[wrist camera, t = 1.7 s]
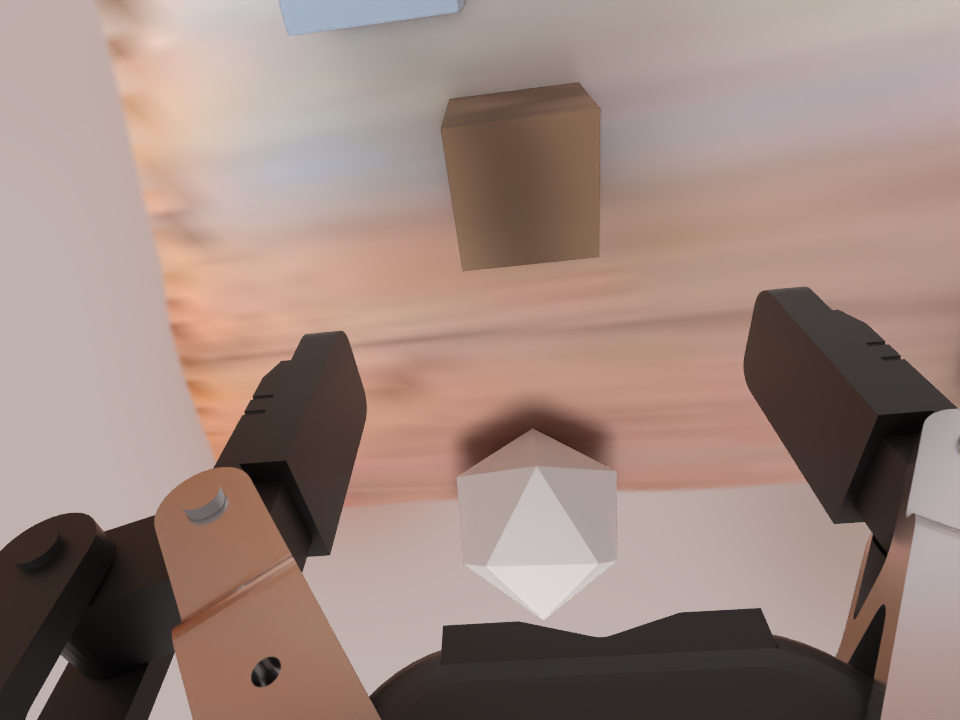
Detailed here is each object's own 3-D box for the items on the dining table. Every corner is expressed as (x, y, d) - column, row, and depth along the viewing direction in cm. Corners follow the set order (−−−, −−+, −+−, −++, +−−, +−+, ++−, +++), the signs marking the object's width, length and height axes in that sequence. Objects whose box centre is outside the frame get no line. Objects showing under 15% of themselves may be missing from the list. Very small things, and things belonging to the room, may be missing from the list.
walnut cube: (578, 82, 21) (600, 108, 17) (580, 208, 24) (599, 256, 20) (449, 98, 21) (440, 128, 17) (466, 220, 24) (462, 271, 20)
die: (453, 399, 30) (470, 498, 37) (442, 557, 23) (466, 640, 30) (611, 392, 29) (598, 494, 36) (645, 552, 23) (622, 638, 30)
